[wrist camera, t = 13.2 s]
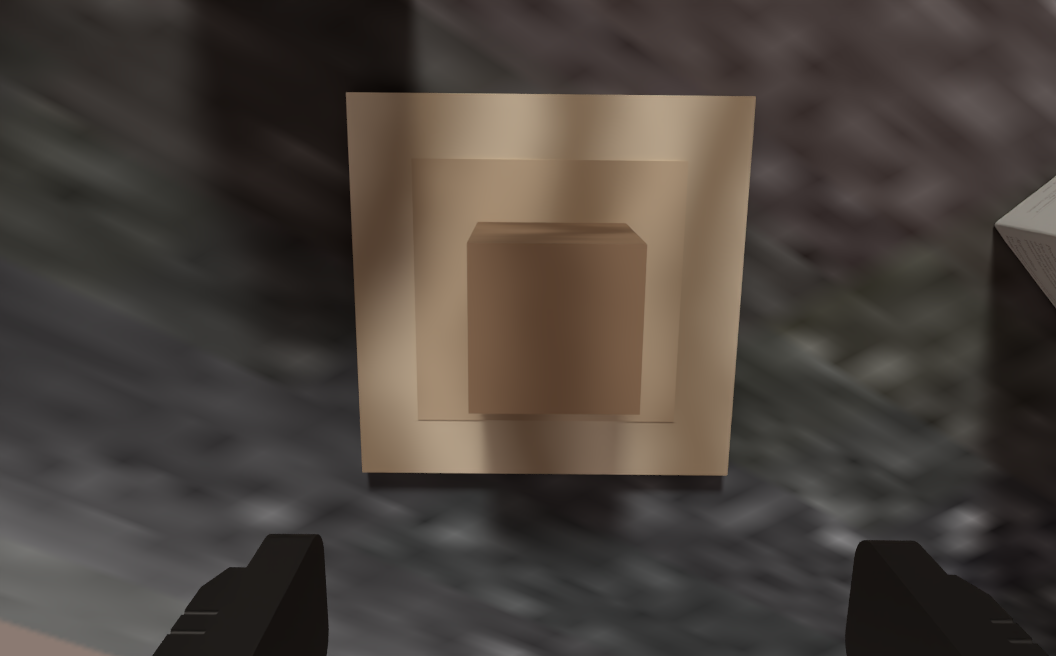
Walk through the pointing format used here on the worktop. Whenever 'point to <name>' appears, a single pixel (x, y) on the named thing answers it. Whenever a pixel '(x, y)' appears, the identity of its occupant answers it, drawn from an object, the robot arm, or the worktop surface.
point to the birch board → (553, 197)
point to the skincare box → (1034, 236)
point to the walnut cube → (555, 318)
